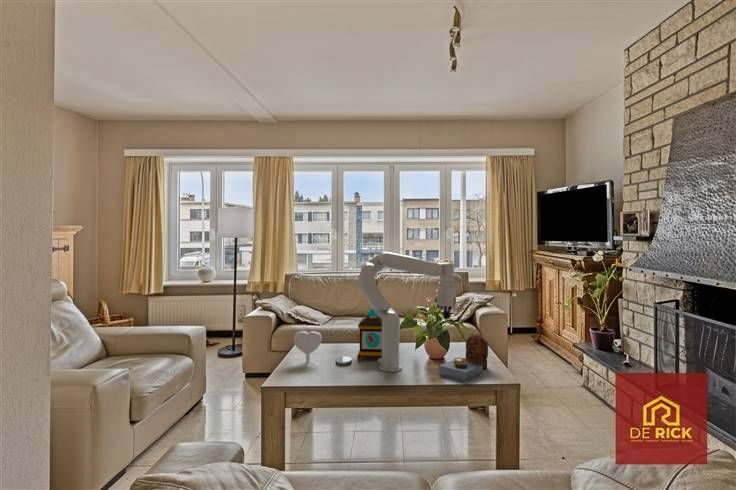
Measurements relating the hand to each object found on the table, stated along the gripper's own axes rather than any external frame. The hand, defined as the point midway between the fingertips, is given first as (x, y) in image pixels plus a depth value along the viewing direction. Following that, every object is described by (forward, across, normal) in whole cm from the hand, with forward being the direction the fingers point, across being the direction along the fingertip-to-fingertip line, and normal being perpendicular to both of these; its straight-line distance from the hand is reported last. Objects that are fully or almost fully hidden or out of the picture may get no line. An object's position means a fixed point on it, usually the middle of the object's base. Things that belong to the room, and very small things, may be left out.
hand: (446, 318), depth 232 cm
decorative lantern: (+27, -42, -15) cm, 52 cm away
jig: (+27, +13, -6) cm, 31 cm away
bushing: (+27, +13, -6) cm, 30 cm away
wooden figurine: (+27, +12, +11) cm, 32 cm away
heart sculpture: (+27, -60, -50) cm, 83 cm away
